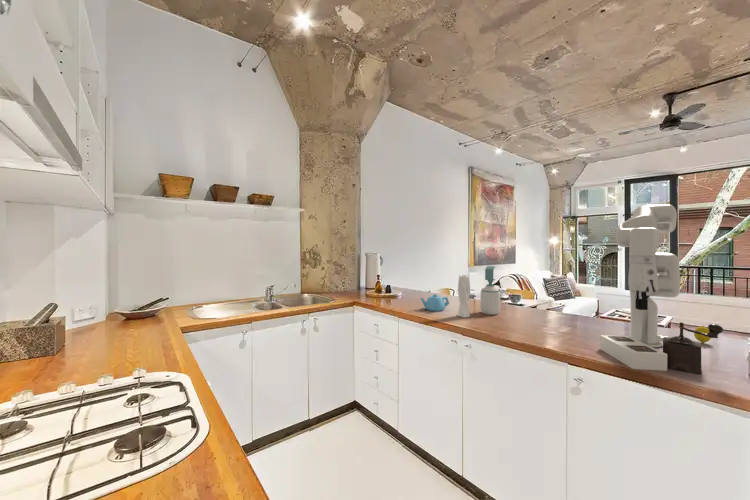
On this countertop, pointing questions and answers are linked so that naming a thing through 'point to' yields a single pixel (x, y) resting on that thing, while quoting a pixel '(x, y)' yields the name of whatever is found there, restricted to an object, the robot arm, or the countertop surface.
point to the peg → (640, 348)
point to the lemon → (701, 337)
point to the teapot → (435, 303)
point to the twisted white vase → (464, 296)
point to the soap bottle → (490, 294)
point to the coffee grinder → (687, 349)
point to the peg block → (634, 353)
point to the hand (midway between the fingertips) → (641, 309)
